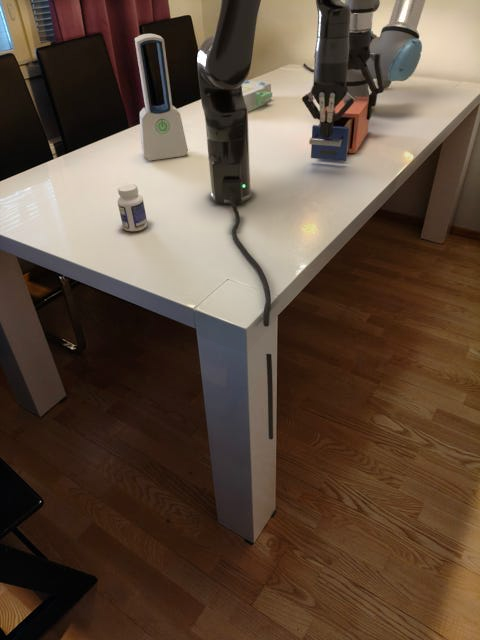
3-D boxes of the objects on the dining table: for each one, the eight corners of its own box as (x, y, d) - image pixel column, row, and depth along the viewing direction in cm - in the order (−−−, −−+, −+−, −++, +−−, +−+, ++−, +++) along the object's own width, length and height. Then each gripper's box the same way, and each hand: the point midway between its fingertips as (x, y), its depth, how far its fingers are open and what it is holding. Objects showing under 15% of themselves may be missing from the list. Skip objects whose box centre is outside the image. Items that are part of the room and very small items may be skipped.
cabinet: (355, 153, 133) (359, 114, 127) (317, 149, 137) (320, 111, 131) (367, 133, 147) (371, 97, 141) (333, 130, 151) (336, 95, 145)
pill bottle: (149, 220, 107) (142, 181, 102) (146, 231, 103) (138, 191, 98) (125, 221, 107) (116, 182, 102) (121, 232, 103) (112, 193, 98)
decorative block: (236, 77, 186) (280, 82, 177) (237, 95, 190) (280, 101, 181) (193, 93, 170) (239, 99, 161) (195, 112, 174) (240, 119, 165)
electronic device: (145, 161, 137) (124, 39, 118) (142, 153, 142) (122, 35, 124) (188, 155, 139) (175, 34, 121) (184, 147, 145) (170, 31, 126)
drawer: (341, 168, 121) (343, 135, 117) (304, 165, 124) (306, 132, 119) (358, 140, 139) (362, 110, 134) (326, 138, 142) (328, 108, 137)
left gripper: (363, 56, 111) (355, 134, 121) (307, 54, 115) (304, 130, 125) (357, 63, 105) (349, 144, 116) (298, 61, 109) (295, 139, 120)
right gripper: (403, 28, 129) (391, 115, 142) (318, 28, 136) (314, 111, 149) (399, 32, 123) (387, 123, 137) (311, 32, 131) (307, 118, 144)
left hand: (325, 136), depth 121 cm, fingers closed
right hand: (349, 117), depth 143 cm, fingers closed on cabinet, 10 cm apart
